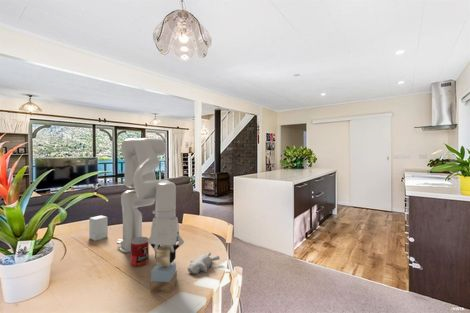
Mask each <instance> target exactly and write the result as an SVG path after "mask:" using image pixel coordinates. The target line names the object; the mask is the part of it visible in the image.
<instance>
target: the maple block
mask: <svg viewBox="0 0 470 313" xmlns="http://www.w3.org/2000/svg"><path fill="white" fill-rule="evenodd" d="M170 252H171V248H170V246H168V245H160V247H159V248H158V249H156V258H155V266H156V265H159V266H169V265H170V264H171V263H170Z"/></svg>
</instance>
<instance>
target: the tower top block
mask: <svg viewBox="0 0 470 313" xmlns="http://www.w3.org/2000/svg"><path fill="white" fill-rule="evenodd" d="M176 264H177V262H174V261H173V262H172V263H171V264H170V265H169V266H159V265H156V264H155V265H154V267H153V268H152V269H151V272H150V273H151V274H150V276H151V278H150V279H151V280H150V282H170V281H171V279H172V278H173V276H174V274H175V273H176V271H177V270H176Z"/></svg>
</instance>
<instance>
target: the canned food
mask: <svg viewBox="0 0 470 313" xmlns="http://www.w3.org/2000/svg"><path fill="white" fill-rule="evenodd" d="M148 239H149V237H147V236H142V237H137V238H134V239H132V240H131V252H130V264H131V266H132V267H136V268H138V267H143V266H145V265H147V264H149V258H150V257H149V251H150V250H149V248H150V247H149V246H150V244H149V243H148V242H147V240H148Z"/></svg>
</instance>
